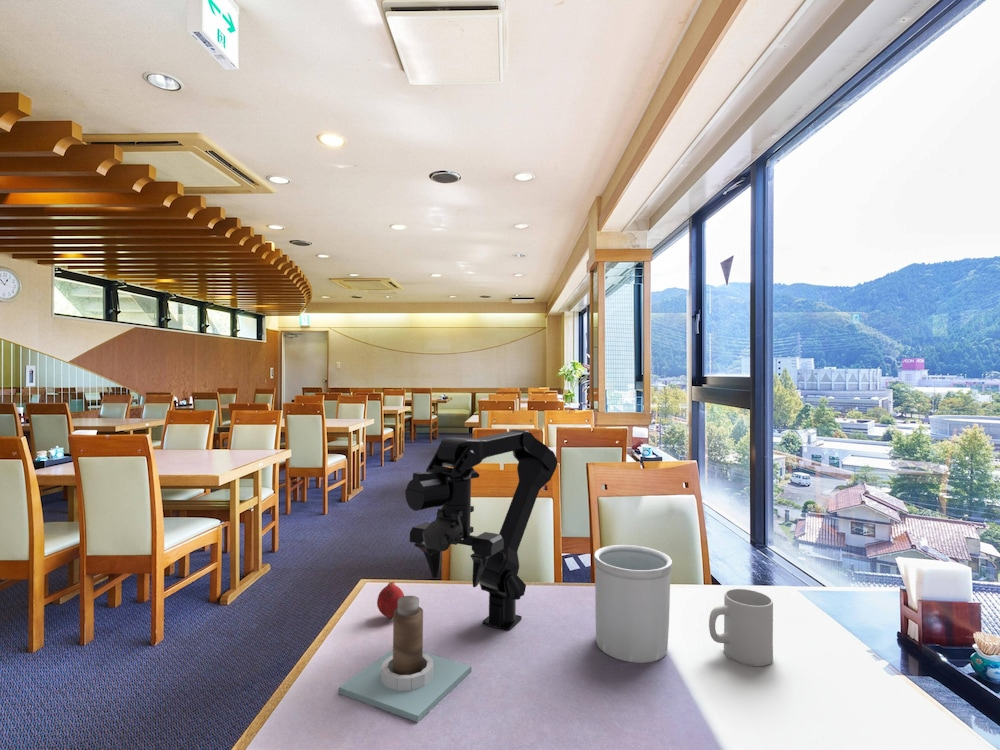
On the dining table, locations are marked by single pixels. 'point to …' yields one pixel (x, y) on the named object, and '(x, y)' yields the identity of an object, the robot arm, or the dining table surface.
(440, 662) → the board
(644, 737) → the dining table surface
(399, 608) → the pepper mill
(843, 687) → the dining table surface
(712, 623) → the mug
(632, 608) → the utensil holder
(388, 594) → the onion
